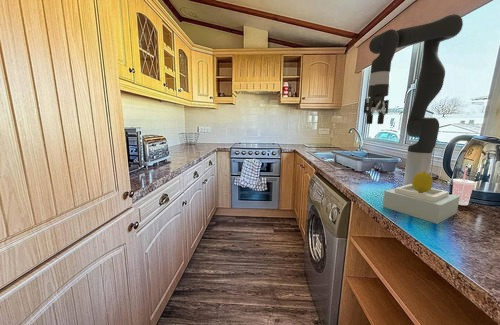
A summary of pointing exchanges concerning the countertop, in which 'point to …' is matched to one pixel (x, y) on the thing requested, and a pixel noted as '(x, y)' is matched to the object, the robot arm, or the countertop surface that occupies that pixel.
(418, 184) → the lemon
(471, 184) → the beverage cup
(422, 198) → the stand
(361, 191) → the countertop surface
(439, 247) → the countertop surface
